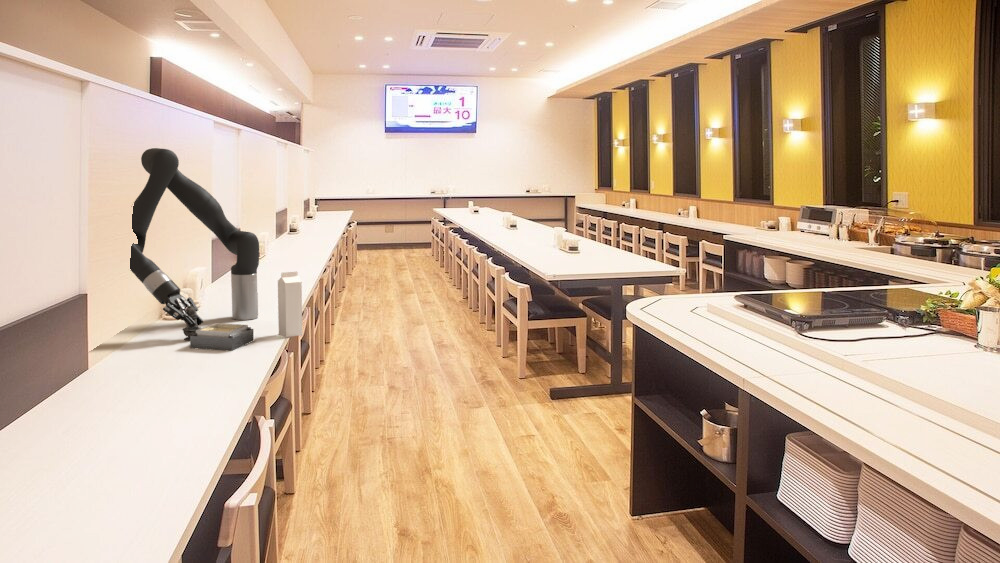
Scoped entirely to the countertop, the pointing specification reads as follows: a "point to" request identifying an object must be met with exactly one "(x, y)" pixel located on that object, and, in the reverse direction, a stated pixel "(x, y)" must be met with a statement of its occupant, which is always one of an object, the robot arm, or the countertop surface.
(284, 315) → the milk
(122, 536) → the countertop surface
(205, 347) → the grey square box
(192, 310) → the grey stone figure
